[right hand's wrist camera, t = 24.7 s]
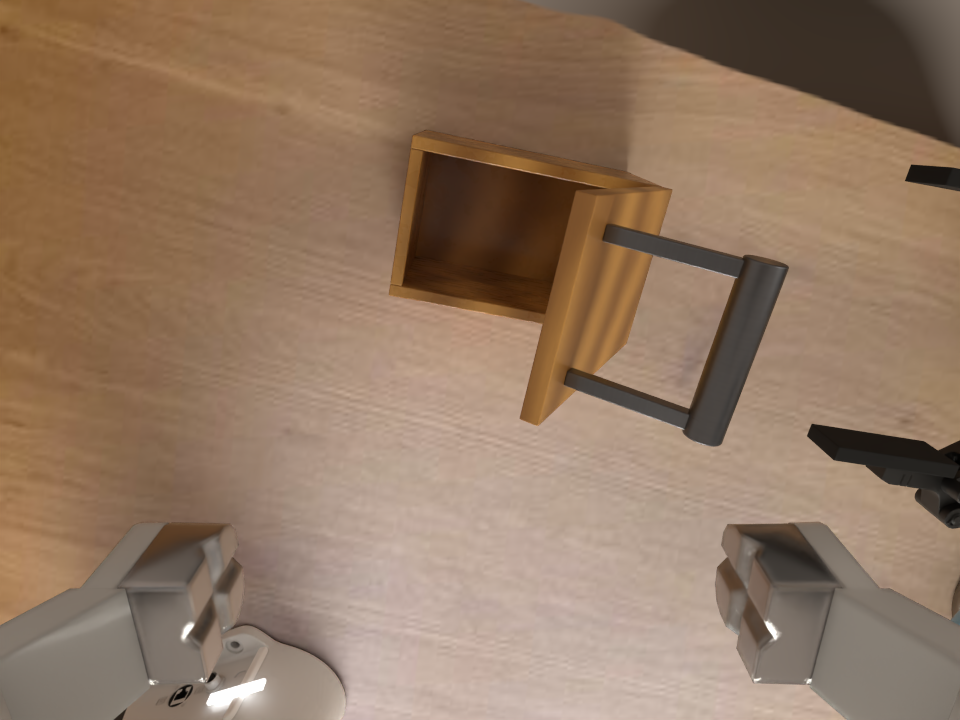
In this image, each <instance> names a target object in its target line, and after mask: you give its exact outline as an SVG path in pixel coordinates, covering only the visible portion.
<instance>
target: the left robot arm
mask: <svg viewBox="0 0 960 720" xmlns="http://www.w3.org/2000/svg"><path fill="white" fill-rule="evenodd" d="M905 181H908V182H913V183H918V184H924V185H929V186H934V187H940V188H945V189H950V190H955V191H960V169H957V168H951V167H937V166H923V165H911V167H910V169H909V172H908V174H907V177H906V180H905ZM807 437H809V438H810V439H811V440H812V441H813V442H814V443H815V444H816V445H818V446H819V447H820V448H821V449H822V450H823V451H824V452H825V453H826V454H828V455H829V456H830V457H831V458H832V459H833V460H836V461H842V462H849V463H855V464H862V465H866V467H867V468H869V469H870V470H871V471H872V472H873V473H874V474H876V475H877V476H878V477H879V478H880V479H882V480H883V481H885V482H887V483H888V484H892V485H900V486H907V487H912V488H919V489H918V490H917V492H916V493H915V499H916V501H917V502H918V503H919V504H921V505H922V506H923V507H924V508H925V509H927V510H928V511H929V512H930V513H931V514H933V515H934V516H935V517H936V518H937V519H939V520H940V521H941V522H942V523H944V524H945V525H946V526H947V527H949V528H952V529H953V528H960V441H958V442H955V443H953V444H951V445H949V446H947V447H945V448H943V449H941V450H936V449H935V448H933V447H932V446H930V445H929V444H927V443H926V442H924V441H918V440H912V439H906V438H899V437H893V436H886V435H880V434H874V433H867V432H861V431H855V430H848V429H842V428H835V427H829V426H823V425H816V424H812V425H811V427H810V430H809V432H808V435H807ZM950 621H952V622H954V623H956V624H958V625H960V582H959V584H958V586H957V589H956V591H955V594H954V597H953V602H952V619H951V620H950Z"/></svg>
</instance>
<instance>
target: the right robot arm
mask: <svg viewBox="0 0 960 720" xmlns="http://www.w3.org/2000/svg"><path fill="white" fill-rule="evenodd" d="M238 545H239V543H238V539H237V534H236V529H235V527H233V526H232V525H231V524H227V523H181V522H171V523H168V522H141V523H138V524H136V525H133V526H132V528H131V529H130V530H129V531H128V532H127V533H126V535H125V536H124V537H123V538H122V539H121V541H120V542H119V543H118V544H117V545H116V546H115V548H114V549H113V550H112V551H111V552H110V554H109V555H108V556H107V557H106V558H105V559H104V561H103V562H102V563H101V564H100V565H99V567H98V568H97V569H96V570H95V571H94V572H93V574H92V575H91V576H90V577H89V578H88V580H87V581H86V582H85V583H84V584H83V585H82V587H81V588H80V589H68V590H66V591H65V592H63V593H61V594H59V595H57V596H55V597H53V598H51V599H49V600H47V601H46V602H44V603H42V604H40V605H38V606H36V607H34V608H32V609H30V610H28V611H27V612H25V613H23V614H21V615H19V616H17V617H15V618H13V619H11V620H9V621H8V622H6V623H4V624H2V625H0V720H342V718H343V716H344V713H345V708H346V696H345V692H344V689H343V686H342V684H341V682H340V680H339V679H338V677H337V676H336V674H335V673H334V672H333V671H332V670H331V669H330V668H329V667H328V666H327V665H326V664H325V663H324V662H322V661H321V660H320V659H318V658H317V657H315V656H313V655H312V654H310V653H308V652H306V651H303V650H301V649H298V648H296V647H292V646H289V645H286V644H283V643H280V642H278V641H275V640H274V639H272V638H271V637H270V636H268V635H267V634H265V633H264V632H262V631H261V630H259V629H257V628H255V627H253V626H249V625H244V626H240V627H237V628H234V629H231V628H232V627H234V625H235V623H236V621H237V619H238V616H239V614H240V612H241V607H242V603H243V598H244V580H245V579H244V573H243V567H242V566H241V565H240V564H239V563H238V562H237V561H236V560H235V559H234V558H233V555H234V553H235V551H236V549H237V547H238ZM721 545H722V547H723V549H724V551H725V553H726V555H727V558H726V559H725V560H724V561H723V562H722V563H721V564H720V565H719V566H718V567H717V574H716V582H715V587H716V599H717V604H718V608H719V611H720V614H721V617H722V619H723V621H724V623H725V625H726V627H728V628H729V629H730V630H732V631H733V632H735V633H736V634H737V635H739V637H738V642H737V651H738V653H739V655H740V657H741V659H742V661H743V663H744V665H745V667H746V669H747V671H748V673H749V675H750V677H751V679H752V681H753V683H765V684H800V685H810V688H811V689H812V690H813V691H814V692H815V693H817V694H818V695H819V696H820V697H821V698H822V699H823V700H825V701H826V702H827V703H828V704H829V705H830V706H832V707H833V708H834V709H835V710H836V711H837V712H838V713H840V714H841V715H842V716H843V717H844V718H845V719H847V720H960V625H958V624H956V623H954V622H952V621H950V620H948V619H947V618H945V617H943V616H941V615H939V614H937V613H935V612H933V611H931V610H930V609H928V608H926V607H924V606H922V605H920V604H918V603H916V602H914V601H913V600H911V599H909V598H907V597H905V596H903V595H901V594H899V593H897V592H895V591H894V590H892V589H880V588H879V587H878V585H877V584H876V583H875V582H874V581H873V580H872V578H871V577H870V576H869V575H868V574H867V572H866V571H865V570H864V569H863V568H862V567H861V565H860V564H859V563H858V562H857V561H856V559H855V558H854V557H853V556H852V555H851V554H850V552H849V551H848V550H847V549H846V548H845V547H844V545H843V544H842V543H841V542H840V541H839V539H838V538H837V537H836V536H835V535H834V534H833V532H832V531H831V530H830V529H829V528H828V526H826V525H825V524H823V523H821V522H797V523H788V524H727V526H726V528H725V530H724V532H723V538H722V543H721ZM230 629H231V630H230Z"/></svg>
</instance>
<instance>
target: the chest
mask: <svg viewBox="0 0 960 720" xmlns="http://www.w3.org/2000/svg"><path fill="white" fill-rule="evenodd" d="M655 186H659V185H657V184H654V183H652V182H650V181H647V180H645V179H642V178H640V177H638V176H635V175H633V174H631V173H629V172H626V171H621V170H616V169H611V168H606V167H602V166H597V165H592V164H587V163H583V162H578V161H573V160H568V159H563V158H559V157H554V156H549V155H544V154H539V153H535V152H530V151H525V150H520V149H515V148H511V147H506V146H501V145H496V144H492V143H487V142H482V141H477V140H472V139H468V138H463V137H458V136H453V135H448V134H444V133H439V132H434V131H429V130H425V131H423V132H421V133H418V134H415V135H413V136H412V143H411V150H410V156H409V163H408V170H407V176H406V183H405V190H404V196H403V203H402V210H401V216H400V223H399V230H398V236H397V243H396V250H395V257H394V263H393V270H392V277H391V285H390V290H389V295H390V296H396V297H401V298H406V299H411V300H417V301H422V302H427V303H432V304H438V305H443V306H448V307H454V308H459V309H464V310H469V311H475V312H480V313H485V314H491V315H496V316H501V317H506V318H512V319H517V320H522V321H528V322H533V323H538V324H543V322H544V318H545V314H546V310H547V305H548V301H549V297H550V293H551V289H552V285H553V281H554V277H555V273H556V269H557V265H558V261H559V257H560V253H561V249H562V245H563V240H564V236H565V232H566V228H567V224H568V220H569V216H570V212H571V208H572V204H573V200H574V196H575V192H576V190H594V189H614V188H634V187H655ZM660 187H661V186H660Z"/></svg>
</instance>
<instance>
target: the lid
mask: <svg viewBox="0 0 960 720" xmlns="http://www.w3.org/2000/svg"><path fill="white" fill-rule="evenodd" d="M671 193H672V189H668V188H664V187H660V186H655V187H634V188H614V189H594V190H576V192H575V196H574V200H573V204H572V208H571V212H570V216H569V220H568V224H567V228H566V232H565V236H564V240H563V245H562V249H561V253H560V257H559V261H558V265H557V269H556V273H555V277H554V281H553V285H552V289H551V293H550V297H549V301H548V305H547V310H546V314H545V318H544V322H543V326H542V330H541V334H540V338H539V342H538V346H537V350H536V354H535V358H534V362H533V366H532V371H531V375H530V379H529V383H528V387H527V391H526V395H525V399H524V403H523V407H522V411H521V415H520V419H521V420H523V421H526V422H528V423H531V424H533V425H536V426H539V425H540V424H541V423H542V422H543V421H544V420H545V419H546V418H547V417H548V416H549V415H550V414H551V413H552V412H554V411H555V410H556V409H557V408H558V407H559V406H560V405H561V404H562V403H563V402H564V401H565V400H566V399H567V398H569V397H570V396H571V395H572V394H573V393H574V392H575V391H576V390H578V391H580V392H583V393H586V394H589V395H591V396H594V397H597V398H599V399H602V400H605V401H608V402H610V403H613V404H616V405H619V406H621V407H624V408H627V409H629V410H632V411H635V412H638V413H640V414H643V415H646V416H648V417H651V418H654V419H657V420H659V421H662V422H665V423H668V424H670V425H673V426H676V427H678V428H681V429H682V431H683V433H684V435H685V436H687V437H688V438H689V439H691V440H693V441H695V442H697V443H700V444H703V445H706V446H719V445H721V444H722V441H723V439H724V436H725V434H726V431H727V428H728V426H729V423H730V421H731V418H732V415H733V413H734V410H735V408H736V405H737V402H738V400H739V397H740V394H741V392H742V389H743V387H744V384H745V381H746V379H747V376H748V374H749V371H750V368H751V366H752V363H753V360H754V358H755V355H756V353H757V350H758V347H759V345H760V342H761V340H762V337H763V334H764V332H765V329H766V326H767V324H768V321H769V319H770V316H771V313H772V311H773V308H774V306H775V303H776V300H777V298H778V295H779V293H780V290H781V287H782V285H783V282H784V279H785V277H786V274H787V272H788V269H789V267H788V266H787V265H786V264H783V263H781V262H778V261H775V260H771V259H768V258H764V257H759V256H754V255H744V256H743V258H742V257H738V256H734V255H730V254H727V253H723V252H719V251H715V250H711V249H707V248H704V247H700V246H696V245H692V244H688V243H685V242H681V241H677V240H673V239H669V238H665V237H662V236H659V233H660V230H661V227H662V223H663V220H664V217H665V213H666V210H667V207H668V203H669V200H670V197H671ZM653 255H654V256H657V257H661V258H665V259H668V260H672V261H676V262H679V263H683V264H687V265H690V266H694V267H698V268H701V269H705V270H708V271H712V272H716V273H719V274H723V275H727V276H730V277H734V278H736V279H735V282H734V284H733V287H732V290H731V293H730V296H729V298H728V301H727V304H726V307H725V310H724V313H723V315H722V318H721V321H720V324H719V327H718V330H717V332H716V335H715V338H714V341H713V344H712V347H711V349H710V352H709V355H708V358H707V361H706V364H705V366H704V369H703V372H702V375H701V378H700V381H699V383H698V386H697V389H696V392H695V395H694V398H693V400H692V403H691V406H690V409H688V408H685V407H682V406H679V405H676V404H674V403H671V402H668V401H665V400H662V399H660V398H657V397H654V396H651V395H648V394H645V393H643V392H640V391H637V390H634V389H631V388H629V387H626V386H623V385H620V384H617V383H614V382H612V381H609V380H606V379H603V378H600V377H598V376H595V375H593V374H594V373H595V372H596V371H597V370H598V369H600V368H601V367H602V366H603V365H604V364H605V363H606V362H607V361H608V360H609V359H610V358H611V357H612V356H613V355H615V354H616V353H617V352H618V351H619V350H620V349H621V348H622V347H623V346H624V345H625V344H626V343H627V340H628V337H629V333H630V330H631V327H632V323H633V320H634V317H635V313H636V310H637V307H638V303H639V300H640V297H641V293H642V290H643V287H644V283H645V280H646V277H647V273H648V270H649V267H650V263H651V260H652V257H653Z"/></svg>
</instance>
